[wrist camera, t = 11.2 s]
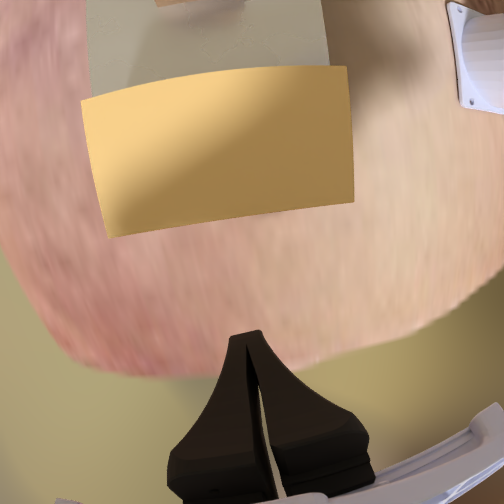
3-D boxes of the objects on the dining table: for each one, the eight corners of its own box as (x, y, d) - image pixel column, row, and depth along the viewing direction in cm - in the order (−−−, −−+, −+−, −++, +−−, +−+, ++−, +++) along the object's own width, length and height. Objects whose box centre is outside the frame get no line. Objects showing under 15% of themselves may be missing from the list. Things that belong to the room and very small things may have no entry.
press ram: (305, 79, 14) (346, 66, 9) (313, 176, 16) (354, 202, 11) (119, 104, 13) (80, 101, 8) (136, 201, 15) (108, 238, 11)
